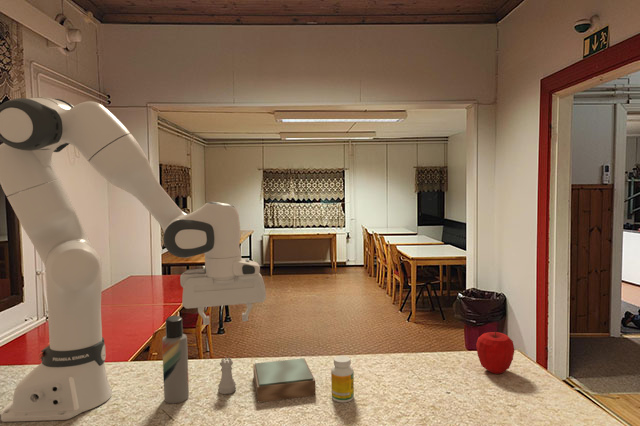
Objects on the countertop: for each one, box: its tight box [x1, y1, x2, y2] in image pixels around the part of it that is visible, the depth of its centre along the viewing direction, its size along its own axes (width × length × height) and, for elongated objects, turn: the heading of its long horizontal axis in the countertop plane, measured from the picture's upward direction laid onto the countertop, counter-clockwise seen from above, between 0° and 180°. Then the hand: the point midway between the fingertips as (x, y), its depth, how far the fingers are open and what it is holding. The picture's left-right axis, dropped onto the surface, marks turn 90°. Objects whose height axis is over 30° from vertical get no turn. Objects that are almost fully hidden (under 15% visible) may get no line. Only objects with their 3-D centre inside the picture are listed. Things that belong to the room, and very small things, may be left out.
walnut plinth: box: [252, 358, 317, 403], centre depth 110 cm, size 14×14×4 cm
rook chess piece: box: [217, 357, 237, 395], centre depth 108 cm, size 4×4×8 cm
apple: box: [475, 331, 515, 375], centre depth 117 cm, size 10×10×11 cm
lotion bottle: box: [161, 315, 190, 405], centre depth 104 cm, size 6×6×20 cm
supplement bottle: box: [330, 355, 355, 404], centre depth 103 cm, size 5×5×10 cm
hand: (226, 322), depth 107 cm, fingers open, 8 cm apart
